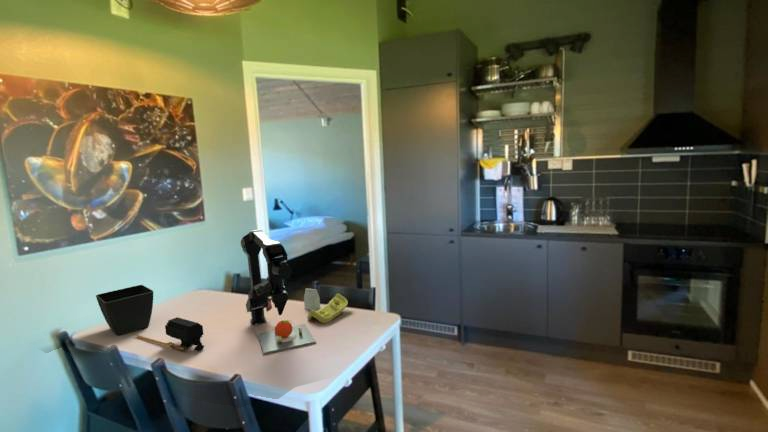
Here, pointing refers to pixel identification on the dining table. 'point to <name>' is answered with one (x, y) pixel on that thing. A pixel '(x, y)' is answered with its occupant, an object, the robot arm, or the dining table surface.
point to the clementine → (283, 328)
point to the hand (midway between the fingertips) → (278, 311)
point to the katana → (169, 345)
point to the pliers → (268, 304)
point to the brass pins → (281, 338)
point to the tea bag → (311, 299)
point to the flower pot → (127, 308)
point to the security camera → (185, 332)
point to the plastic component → (329, 309)
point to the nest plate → (285, 340)
